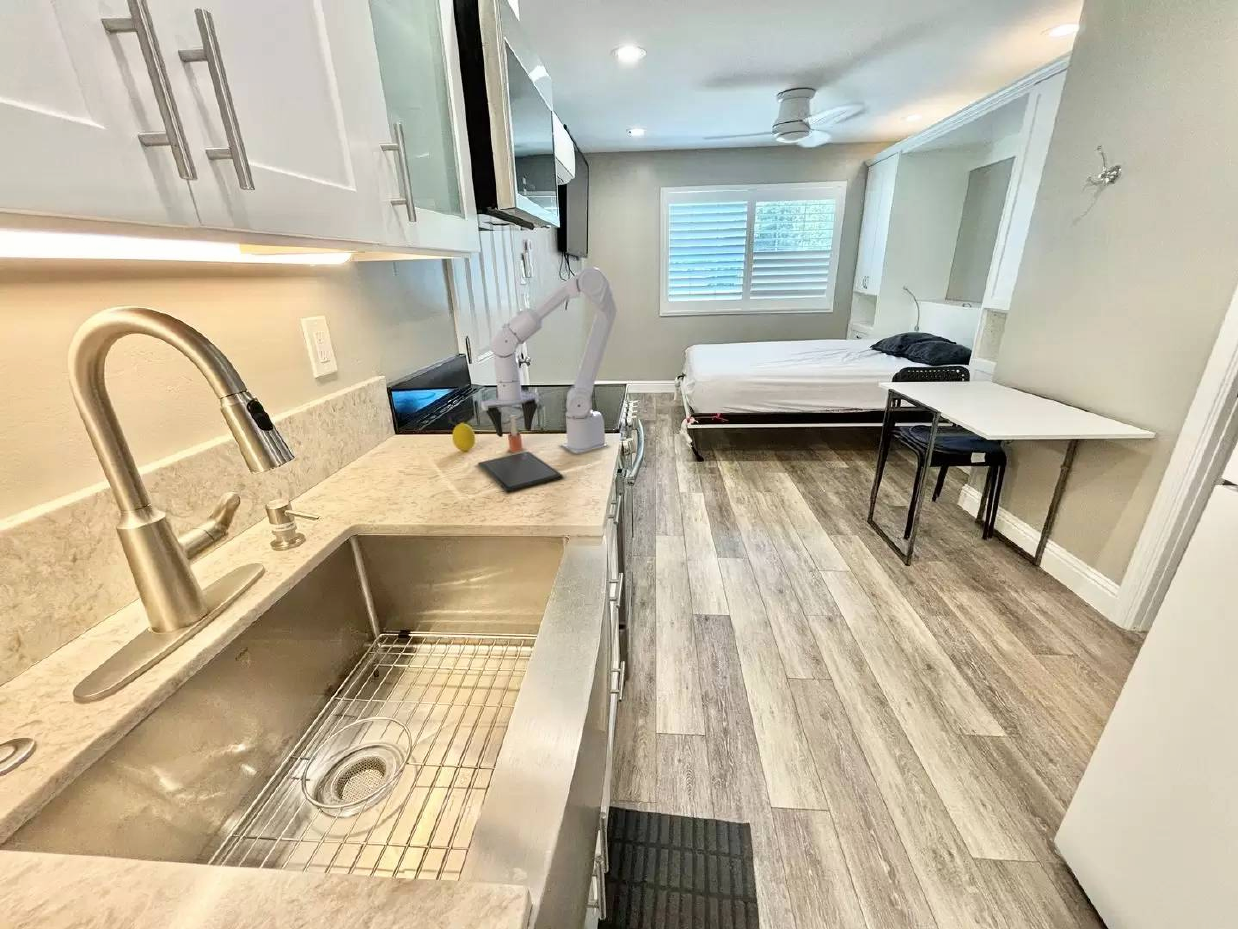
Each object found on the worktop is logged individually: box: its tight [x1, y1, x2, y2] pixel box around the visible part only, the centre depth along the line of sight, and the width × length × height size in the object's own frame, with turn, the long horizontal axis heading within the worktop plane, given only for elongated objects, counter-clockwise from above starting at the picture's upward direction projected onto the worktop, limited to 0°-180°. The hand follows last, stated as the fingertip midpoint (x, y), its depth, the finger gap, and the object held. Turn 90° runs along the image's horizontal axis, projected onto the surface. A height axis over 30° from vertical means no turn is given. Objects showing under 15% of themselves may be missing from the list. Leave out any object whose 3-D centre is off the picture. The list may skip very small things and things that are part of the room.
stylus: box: [508, 414, 518, 436], centre depth 126 cm, size 1×1×9 cm
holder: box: [507, 432, 523, 452], centre depth 127 cm, size 3×3×4 cm
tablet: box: [477, 451, 563, 494], centre depth 114 cm, size 13×19×1 cm
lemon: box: [452, 422, 476, 452], centre depth 126 cm, size 6×6×8 cm
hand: (514, 432), depth 126 cm, fingers open, 7 cm apart
